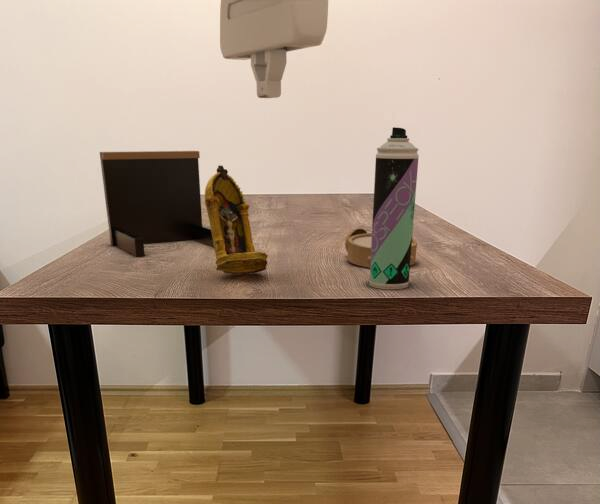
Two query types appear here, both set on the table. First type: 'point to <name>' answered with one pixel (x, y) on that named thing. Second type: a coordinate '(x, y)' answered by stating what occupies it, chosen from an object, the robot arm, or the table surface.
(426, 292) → the table surface
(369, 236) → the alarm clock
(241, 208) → the shrine
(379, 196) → the spray can
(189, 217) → the black display stand
